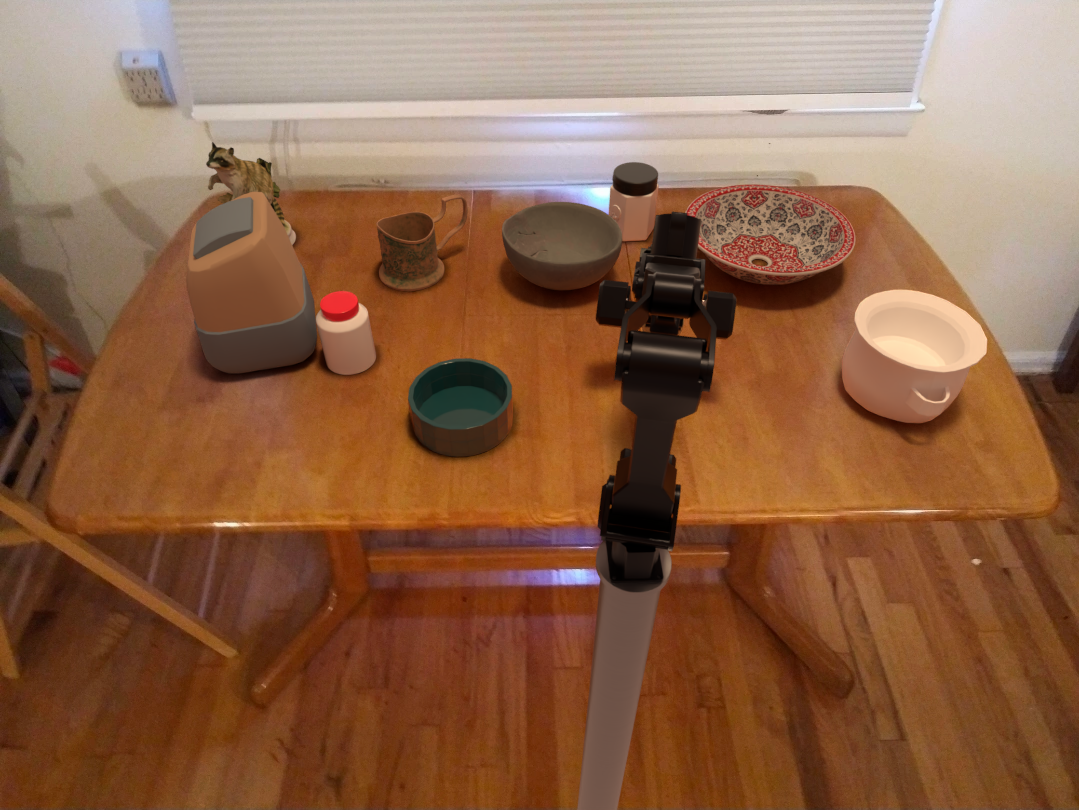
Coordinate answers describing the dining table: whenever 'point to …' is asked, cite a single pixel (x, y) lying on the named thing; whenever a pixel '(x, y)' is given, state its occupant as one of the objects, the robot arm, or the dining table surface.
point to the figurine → (245, 180)
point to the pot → (910, 354)
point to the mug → (413, 248)
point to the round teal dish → (461, 407)
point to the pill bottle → (345, 333)
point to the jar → (634, 199)
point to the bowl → (562, 244)
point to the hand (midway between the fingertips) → (663, 317)
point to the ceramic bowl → (771, 233)
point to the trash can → (249, 289)
